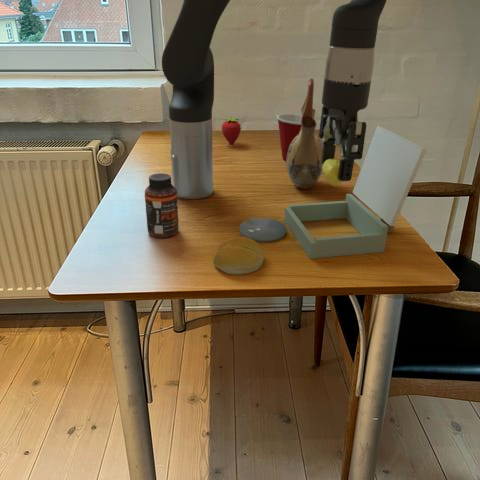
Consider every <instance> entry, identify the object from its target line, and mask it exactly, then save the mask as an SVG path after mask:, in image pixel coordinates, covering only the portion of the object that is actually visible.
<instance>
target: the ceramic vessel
mask: <svg viewBox="0 0 480 480" xmlns="http://www.w3.org/2000/svg"><path fill="white" fill-rule="evenodd" d="M307 85H308V86H307V91H306V92H307V93H306V97H305V100H304V102H303V104H302V107H301V109H300V110H301V115H302V119H301V130H300V132H299V134H298V135H297V136H296V137H295V138H294V139H293V140H292V142H291V144H290V146H289V149H288V152H287V159H286V161H285V162H286V170H287V174H288V178H289V179H290V182H291V183H292V184H293V185H294V186H296V187H297V188H298V189H303V190H305V189H310V188H311V187H313V186H314V185H315V184H316V183H317V182H318V181H319V179H320V177H321V176H322V175H323V173H322V166H323V164H322V163H321V159H322V151H323V145H324V144H322V139H321V138H319V135H318V136H317V134H316V127H317V120H316V119H315V114H316V109H315V108H313V104H314V91H315V90H314V87H315V86H314V85H315V82H314V78H309V80H308V84H307ZM315 120H316V121H315Z"/></svg>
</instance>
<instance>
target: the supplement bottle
mask: <svg viewBox="0 0 480 480" xmlns="http://www.w3.org/2000/svg"><path fill="white" fill-rule="evenodd" d="M171 176H172V175H170V174H169V173H160V172H159V173H158V172H157V173H153V174H151V175H149V177H148V183H149V185H148V186H147V187H146V188H145V190H144V202H145V213H146V214H145V215H146V226H147V233H148V234H149V235H150V236H152V237H154V238H160V239H161V238H162V239H163V238H165V239H166V238H170V237H173V236H175V235H176V234H177V233H178V232H179V227H180V226H179V214H178V213H179V211H178V210H179V209H178V208H179V206H178V203H179V202H178V197H177V190H176V188H175V187H174V186H173V183H172V177H171Z"/></svg>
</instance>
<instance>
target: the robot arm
mask: <svg viewBox="0 0 480 480" xmlns="http://www.w3.org/2000/svg"><path fill="white" fill-rule="evenodd" d="M230 2H231V0H183V1H182V5H181V8H180V11H179V13H178V17H177V19H176V21H175V23H174V25H173V29H172V31H171V33H170V35H169V38H168V41H167V42H166V45H165V47H164V49H163V52H162V57H161V69H162V72H163V75H164V77H165V79H166V80H167V81H168V82H169V84H171V85H172V95H171V100H170V102H169V106H168V116H169V133H170V134H169V135H170V161H171V163H170V165H171V166H170V167H171V176H172V177H171V184H172V185H173V186H174V187H175V188H176V190H177V198H182V199H188V200H196V199H198V200H199V199H203V198H207V197H209V196H212V194H213V193H214V170H213V169H214V167H213V166H214V165H213V164H214V163H213V162H214V161H213V158H214V157H213V156H214V155H213V107H214V103H215V102H214V100H215V59H214V54H213V51H212V49H211V43H212V39H213V37H214V33H215V30H216V28H217V25H218V23H219V20H220V19H221V16H222V15H223V13H224V11H225V9H226V8H227V6H228V4H229V3H230ZM386 4H387V0H350V2H348V3H346V4H342V5H339V6H338V7H336V9H335V10H334V12H333V16H332V21H331V30H330V38H329V39H330V40H329V46H328V52H327V57H326V62H325V70H324V78H323V87H322V97H321V104H322V105H323V106H322V107H321V108H322V109H321V115H320V123H319V130H318V137H319V139H321V142H322V144H323V151H322V159H321V163H322V164H324V162H325V161H326V160H328V159H335V157H336V156H335V155H336V147H337V148H338V149H339V154H340V155H339V156H340V159H339V161H340V164H339V172H338V179H339V180H340V181H342V182H349V181H351V180H352V177H353V172H354V171H353V168H354V163H355V161H356V160H362V158H363V155H364V154H363V153H364V145H365V139H366V131H367V122H366V121H359V119H358V113H359V111H361V110H365V109H366V108H367V107H368V103H369V98H370V90H371V84H372V79H373V72H374V71H373V70H374V64H375V47H376V41H377V35H378V27H379V20H380V17H381V15H382V12H383V11H384V9H385V5H386Z"/></svg>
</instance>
